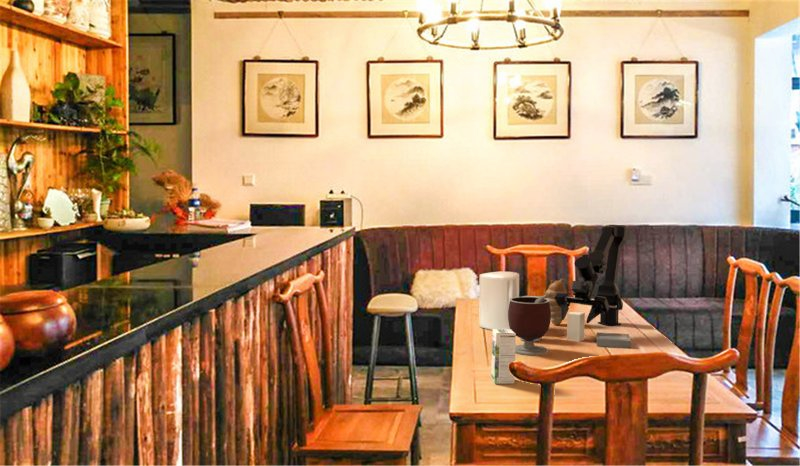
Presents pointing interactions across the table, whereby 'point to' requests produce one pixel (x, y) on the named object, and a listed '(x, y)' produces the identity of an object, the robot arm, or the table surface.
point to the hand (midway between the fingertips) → (574, 321)
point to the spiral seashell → (551, 292)
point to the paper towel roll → (496, 298)
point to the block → (575, 326)
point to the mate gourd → (529, 322)
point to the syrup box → (502, 355)
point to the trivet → (613, 340)
